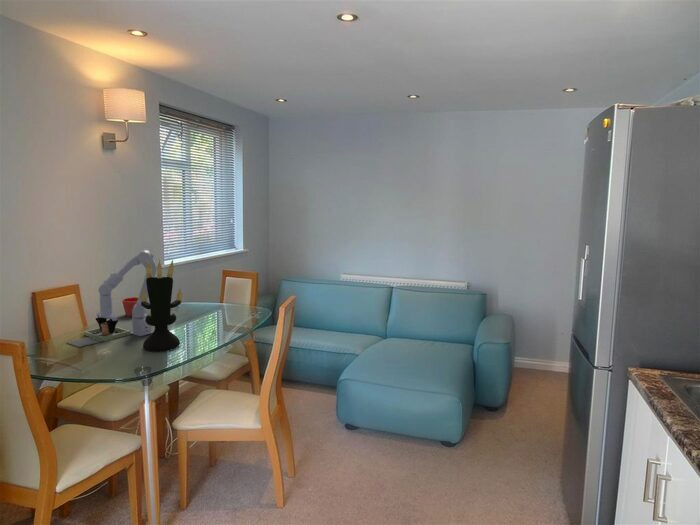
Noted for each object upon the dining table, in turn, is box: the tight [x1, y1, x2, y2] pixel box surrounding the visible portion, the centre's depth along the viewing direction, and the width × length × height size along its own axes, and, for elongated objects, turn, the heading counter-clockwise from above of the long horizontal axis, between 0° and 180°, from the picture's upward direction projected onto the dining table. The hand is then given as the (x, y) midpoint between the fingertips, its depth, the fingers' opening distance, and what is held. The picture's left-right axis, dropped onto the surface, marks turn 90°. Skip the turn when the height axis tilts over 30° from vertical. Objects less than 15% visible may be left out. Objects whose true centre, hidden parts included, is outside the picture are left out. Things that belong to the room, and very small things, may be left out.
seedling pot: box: [101, 323, 114, 337], centre depth 251 cm, size 6×6×6 cm
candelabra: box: [141, 259, 183, 353], centre depth 230 cm, size 19×22×45 cm
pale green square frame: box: [83, 326, 132, 342], centre depth 251 cm, size 17×15×2 cm
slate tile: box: [66, 336, 102, 349], centre depth 238 cm, size 11×11×1 cm
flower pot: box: [122, 296, 139, 317], centre depth 291 cm, size 11×11×10 cm
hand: (107, 331), depth 251 cm, fingers open, 7 cm apart
